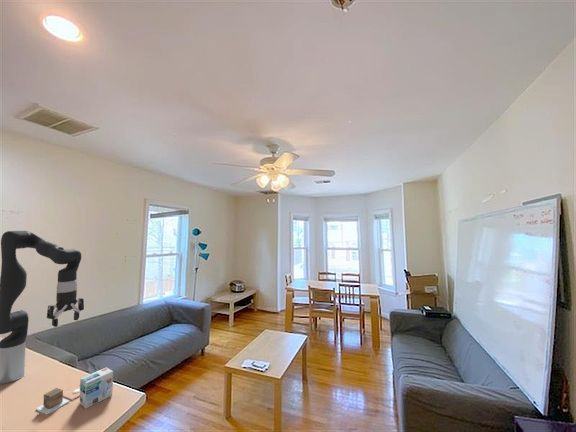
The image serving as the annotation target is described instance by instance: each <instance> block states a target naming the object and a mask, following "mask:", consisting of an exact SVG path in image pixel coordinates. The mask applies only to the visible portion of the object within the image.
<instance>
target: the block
mask: <svg viewBox="0 0 576 432" xmlns="http://www.w3.org/2000/svg"><path fill="white" fill-rule="evenodd" d="M63 394H64V390H63V389H61V388H59V387H55V388H54V389H51V390H49V391H48V392H45V393H44V394H43V404H42V405H43V406H44V407H47V408H49V409H51V408H52V407H54V406H56V405H58V404H60V403H61V402H63V398H64V397H63Z"/></svg>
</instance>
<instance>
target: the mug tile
mask: <svg viewBox="0 0 576 432" xmlns="http://www.w3.org/2000/svg"><path fill="white" fill-rule="evenodd" d="M77 397H78V398H80V384H79V385H77V386H76V387H73V388H72V389H70V390H68V391H66V392H63V398H64V399H67V400H69V401H74V400H76V399H78V398H77ZM75 398H76V399H75Z"/></svg>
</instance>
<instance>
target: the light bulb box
mask: <svg viewBox="0 0 576 432" xmlns="http://www.w3.org/2000/svg"><path fill="white" fill-rule="evenodd" d="M113 381H114V371H113V370H112V369H110V368H108V367H107V366H106V367H104V368H102V369H100V370H97V371H95V372H93V373H90V374H87V375H85V376H83V377H81V378H80V381H79V383H80V384H79V385H80V396H79V404H80V405H81V406H82V407H83V408H84V409H88V408H89V407H92V406H93V405H96V404H98V403H99V402H102V401H104V400H106V399H108V398H110V397H113V387H114V385H113V384H114V383H113Z"/></svg>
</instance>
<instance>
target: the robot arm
mask: <svg viewBox="0 0 576 432" xmlns="http://www.w3.org/2000/svg"><path fill="white" fill-rule="evenodd" d="M26 248H27V249H35V251H36V253H37V254H38V255H40V256H42V257H44V258H48V259H50V260H51V261H52V262H53V263H54V264H57V265H66V266H65V267H63V268H61V269H59V270H58V273H57V285H56V295H55V297H56V299H55V300H56V303H55V304H53V305H48V306H47V311H46V319H49V320H51V325H52V326H53V327H54V328H57V327H58V326H59V319H58V317H59V316H60V315H62V313H64V312H68V311H73V320H74V321H78V320H79V318H80V312H81V311H84V309H85V308H84V307H85V304H84V298H82V297H79V298H77V295H78V283H77V282H78V279H77V276H78V275H77V274H78V273H77V272H78V269H79V266H80V263H81V260H82V253H81V251H80V250H79V249H78V248H70V249H64V247H63V246H62V245H58V244H57V243H53V242H51V241H49V240H48V241H47V240H46V239H44V238H42V237H40V236H38V235H37V234H35V233H33V232H31V231H29V230H8V231H5V232H4V233H2V236H1V238H0V254H1V255H0V256H1V265H0V267H1V269H0V335H4V334H8V333H9V334H8V335H7V336H5V337H4V338H3V339H1V340H0V385H1V384H3V385H4V384H9V383H12V382H15V381H17V380H20V379H21V378H23V377H25V370H26V369H25V367H26V345H27V344H26V342H27V341H26V340H27V339H26V338H27V337H28V330H29V329H28V328H29V321H30V320H29V314H28V313H27V311H26V310H24V309H23V310H22V309H21V310H17V311H13V312H12V309H13V306H14V303H15V302H16V300H18V298H19V297H20V295H21V294H22V292H23V291H24V290H25V289H26V287H27V275H28V274H27V273H28V272H27V271H26V270H25V268H24V267H23V266H22V264H21V263H20V262H19V261H18V259H17V250H20V249H26ZM76 305H77V306H78V307H77V306H76ZM54 310H55V311H54Z"/></svg>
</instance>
